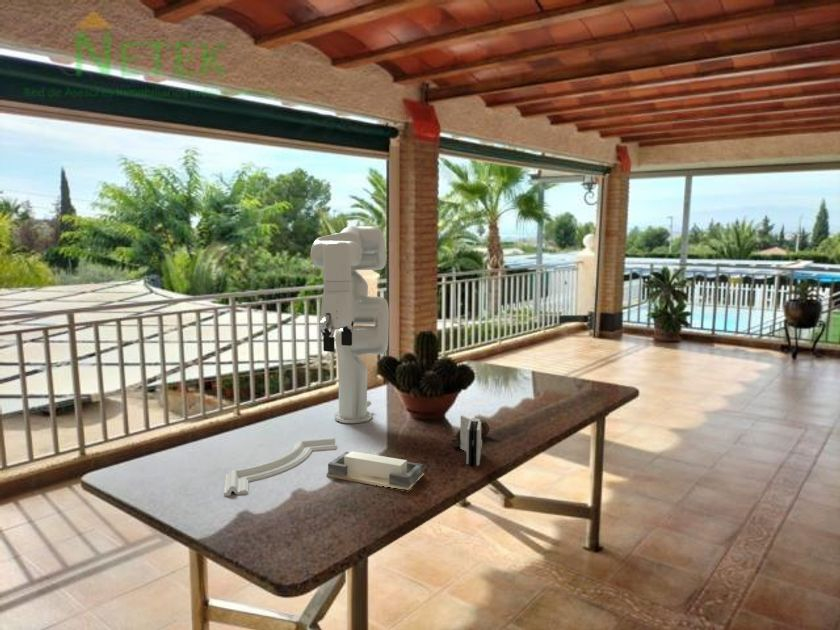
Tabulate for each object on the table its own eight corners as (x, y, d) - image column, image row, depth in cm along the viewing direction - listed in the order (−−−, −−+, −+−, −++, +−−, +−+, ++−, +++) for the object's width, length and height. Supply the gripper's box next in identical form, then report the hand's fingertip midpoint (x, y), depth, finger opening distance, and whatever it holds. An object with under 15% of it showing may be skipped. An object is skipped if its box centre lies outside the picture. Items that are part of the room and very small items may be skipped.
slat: (351, 465, 158) (351, 451, 157) (406, 475, 152) (406, 460, 151) (344, 471, 154) (344, 456, 154) (400, 481, 148) (400, 465, 148)
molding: (236, 502, 139) (235, 490, 139) (200, 490, 145) (199, 479, 145) (344, 447, 176) (344, 437, 175) (312, 439, 182) (312, 430, 181)
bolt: (452, 454, 174) (480, 439, 186) (464, 449, 171) (492, 434, 183) (444, 435, 175) (472, 421, 187) (456, 430, 172) (484, 416, 184)
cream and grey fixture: (345, 462, 162) (345, 451, 161) (423, 476, 153) (424, 463, 153) (326, 476, 153) (326, 464, 152) (408, 491, 144) (408, 478, 144)
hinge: (459, 448, 174) (460, 415, 172) (477, 448, 174) (478, 415, 173) (466, 466, 160) (467, 430, 159) (486, 466, 160) (487, 430, 159)
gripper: (341, 284, 173) (341, 342, 175) (308, 289, 157) (309, 352, 159) (364, 285, 170) (364, 344, 172) (333, 290, 154) (333, 355, 156)
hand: (338, 348), depth 165 cm, fingers open, 9 cm apart
